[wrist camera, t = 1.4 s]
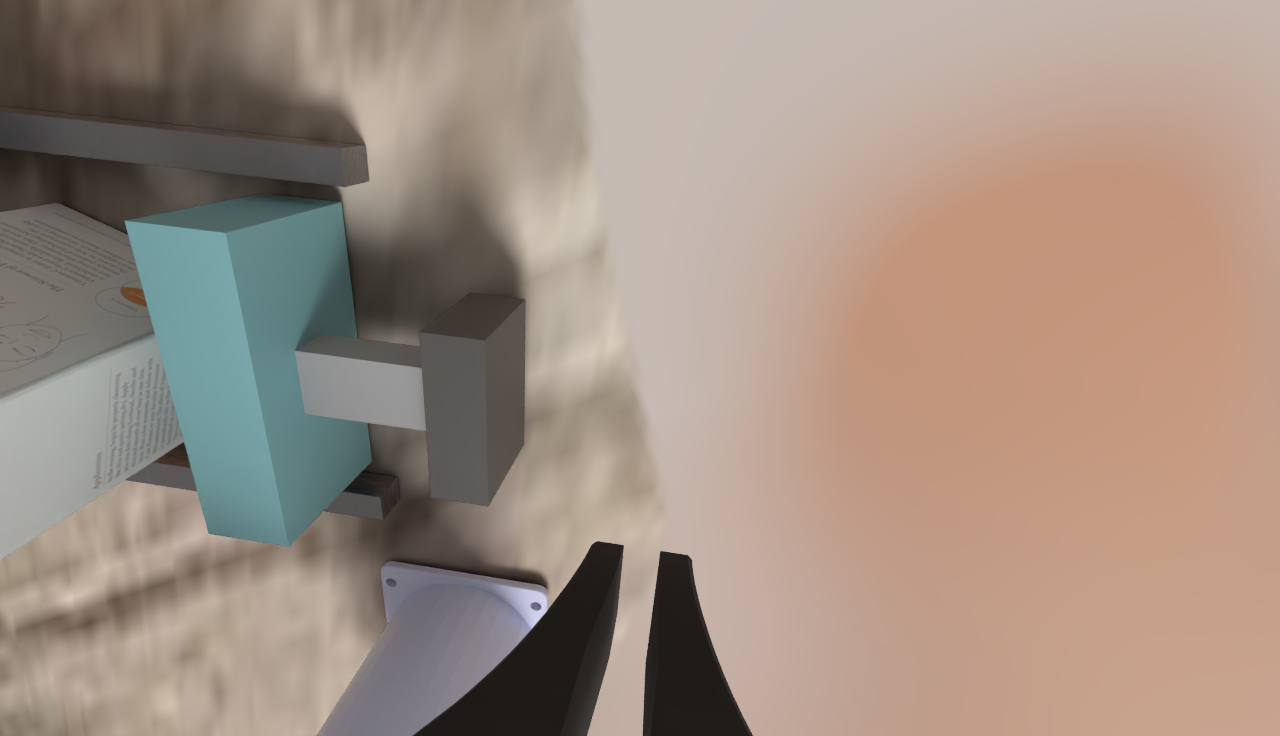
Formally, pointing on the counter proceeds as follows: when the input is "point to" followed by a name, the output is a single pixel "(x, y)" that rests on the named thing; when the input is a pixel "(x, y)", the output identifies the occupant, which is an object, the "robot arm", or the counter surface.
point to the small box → (73, 369)
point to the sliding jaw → (313, 366)
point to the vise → (214, 155)
